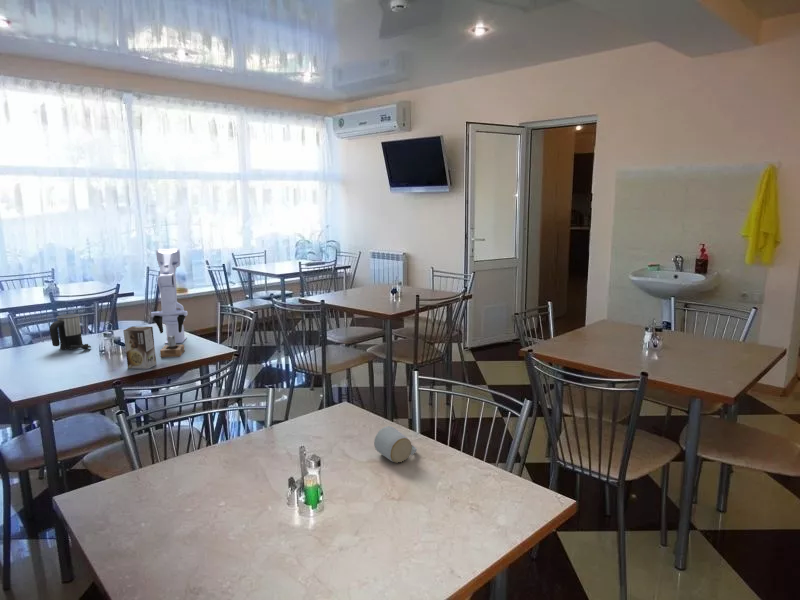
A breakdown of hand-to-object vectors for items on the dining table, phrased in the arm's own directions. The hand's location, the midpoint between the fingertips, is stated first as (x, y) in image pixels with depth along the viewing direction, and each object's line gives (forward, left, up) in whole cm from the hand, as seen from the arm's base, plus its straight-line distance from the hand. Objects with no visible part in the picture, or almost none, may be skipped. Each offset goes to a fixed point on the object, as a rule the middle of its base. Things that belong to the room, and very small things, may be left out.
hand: (171, 332), depth 231 cm
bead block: (0, 0, -10) cm, 10 cm away
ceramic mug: (+107, +83, -10) cm, 136 cm away
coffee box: (+16, -8, -10) cm, 20 cm away
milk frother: (-16, -46, -10) cm, 49 cm away
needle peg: (0, 0, -10) cm, 10 cm away
